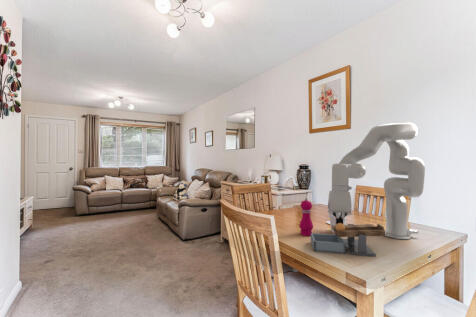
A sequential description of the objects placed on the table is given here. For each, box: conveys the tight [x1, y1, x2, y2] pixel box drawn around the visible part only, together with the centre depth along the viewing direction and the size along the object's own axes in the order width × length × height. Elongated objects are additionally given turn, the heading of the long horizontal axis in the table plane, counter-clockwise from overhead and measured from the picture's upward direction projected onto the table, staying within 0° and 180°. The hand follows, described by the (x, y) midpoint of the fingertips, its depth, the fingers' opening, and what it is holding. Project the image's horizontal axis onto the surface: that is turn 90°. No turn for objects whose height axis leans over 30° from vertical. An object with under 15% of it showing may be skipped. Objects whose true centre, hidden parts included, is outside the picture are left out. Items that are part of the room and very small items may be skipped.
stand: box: [341, 223, 377, 258], centre depth 106 cm, size 10×18×9 cm, turn 169°
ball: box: [336, 223, 345, 231], centre depth 104 cm, size 4×4×4 cm
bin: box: [310, 232, 346, 255], centre depth 105 cm, size 13×12×4 cm
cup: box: [328, 212, 347, 234], centre depth 129 cm, size 9×9×12 cm
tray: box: [332, 223, 386, 238], centre depth 106 cm, size 19×15×4 cm
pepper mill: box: [298, 197, 314, 237], centre depth 125 cm, size 7×7×20 cm
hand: (339, 226), depth 111 cm, fingers closed
